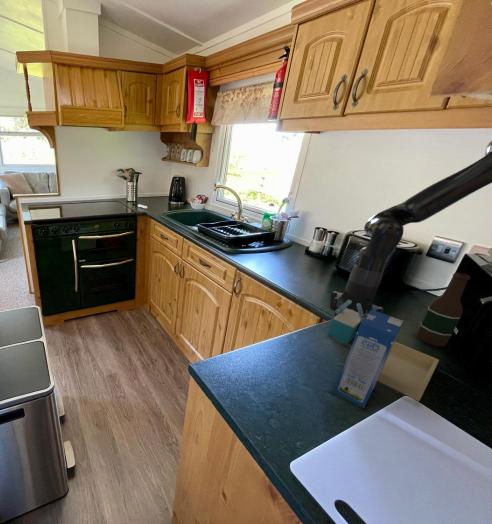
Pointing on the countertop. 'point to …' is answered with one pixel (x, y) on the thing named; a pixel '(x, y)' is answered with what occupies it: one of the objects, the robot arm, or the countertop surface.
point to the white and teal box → (345, 325)
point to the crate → (407, 371)
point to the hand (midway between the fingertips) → (346, 327)
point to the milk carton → (367, 356)
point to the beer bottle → (443, 313)
